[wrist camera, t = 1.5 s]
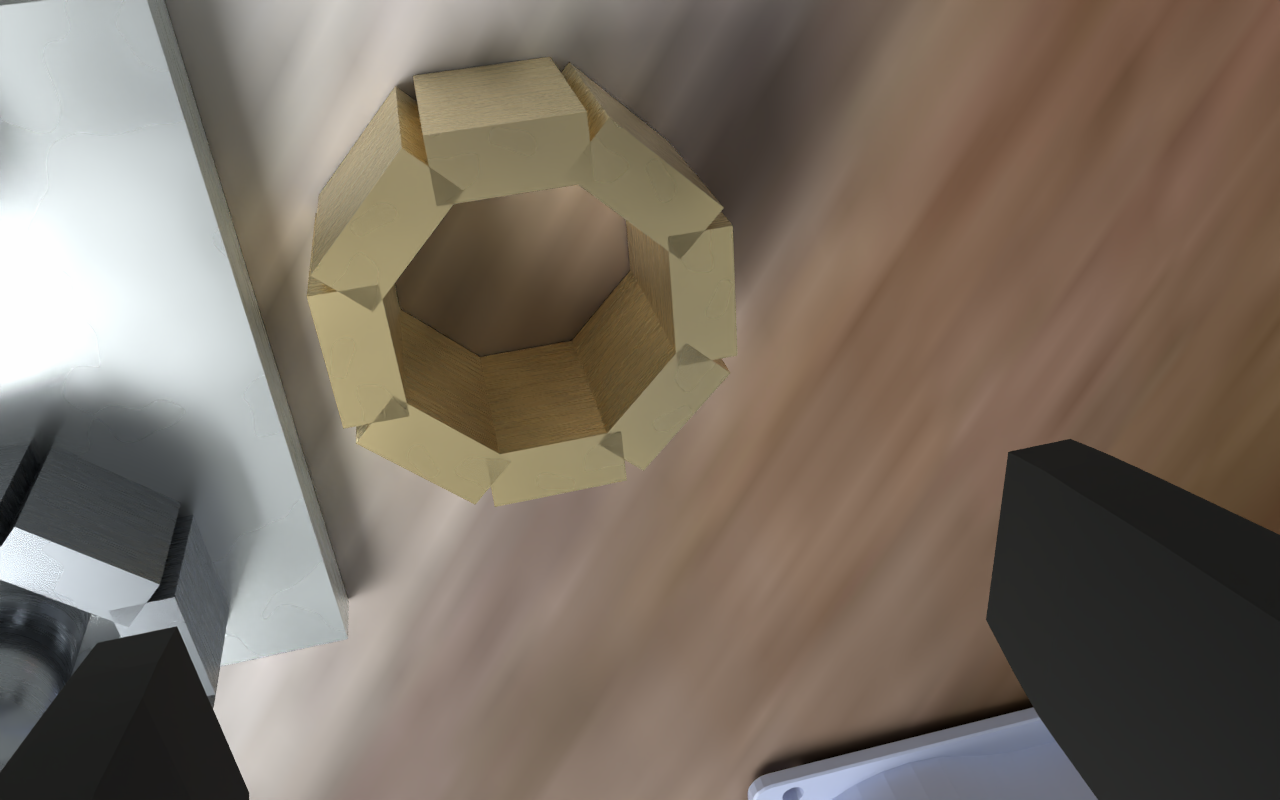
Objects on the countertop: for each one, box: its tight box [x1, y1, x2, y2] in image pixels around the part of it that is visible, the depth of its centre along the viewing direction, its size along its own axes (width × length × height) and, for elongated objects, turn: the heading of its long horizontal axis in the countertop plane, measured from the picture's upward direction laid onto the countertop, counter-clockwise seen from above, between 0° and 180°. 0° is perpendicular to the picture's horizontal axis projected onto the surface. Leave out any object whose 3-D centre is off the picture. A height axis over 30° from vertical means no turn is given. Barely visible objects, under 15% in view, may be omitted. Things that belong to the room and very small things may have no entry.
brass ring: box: [307, 57, 737, 507], centre depth 15 cm, size 6×6×3 cm
